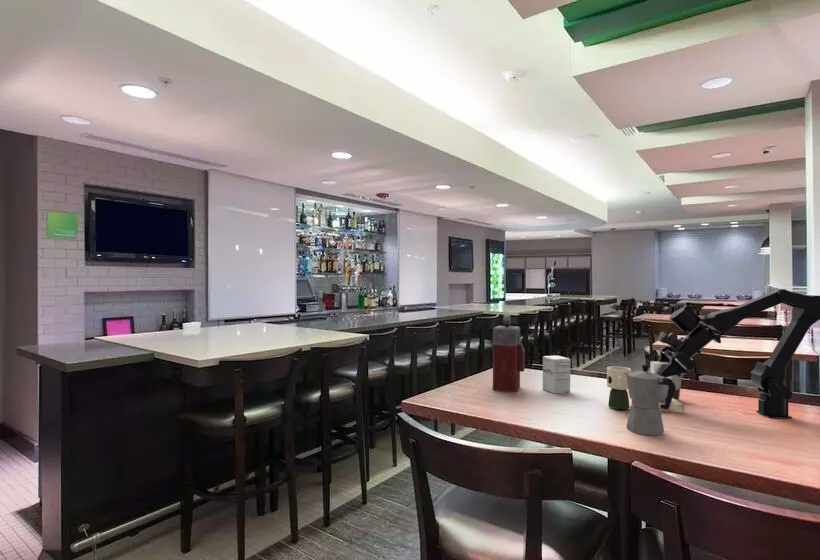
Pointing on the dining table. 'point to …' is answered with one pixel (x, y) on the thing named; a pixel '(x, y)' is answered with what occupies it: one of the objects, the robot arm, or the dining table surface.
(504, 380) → the red thermos flask
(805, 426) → the dining table surface
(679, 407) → the stand
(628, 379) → the coffeepot
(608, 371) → the character mug
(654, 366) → the block
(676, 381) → the food container
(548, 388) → the supplement box
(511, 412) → the dining table surface
